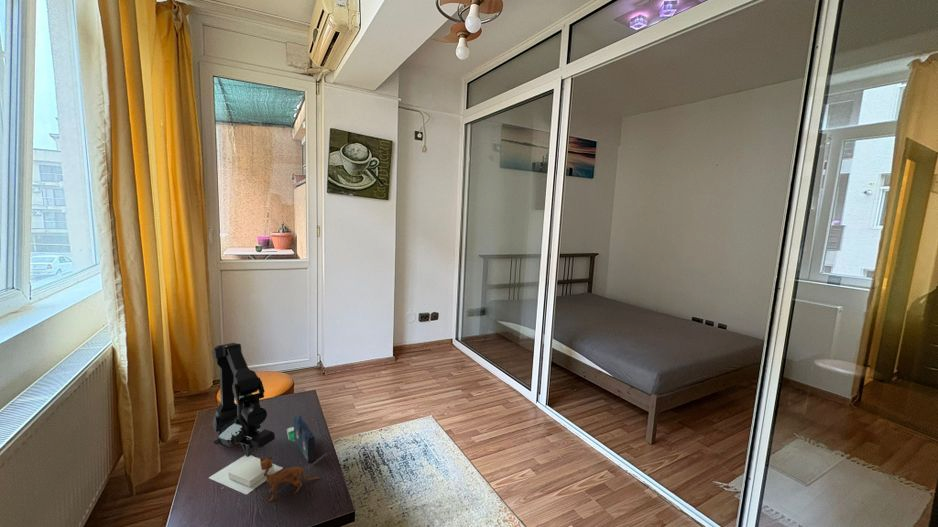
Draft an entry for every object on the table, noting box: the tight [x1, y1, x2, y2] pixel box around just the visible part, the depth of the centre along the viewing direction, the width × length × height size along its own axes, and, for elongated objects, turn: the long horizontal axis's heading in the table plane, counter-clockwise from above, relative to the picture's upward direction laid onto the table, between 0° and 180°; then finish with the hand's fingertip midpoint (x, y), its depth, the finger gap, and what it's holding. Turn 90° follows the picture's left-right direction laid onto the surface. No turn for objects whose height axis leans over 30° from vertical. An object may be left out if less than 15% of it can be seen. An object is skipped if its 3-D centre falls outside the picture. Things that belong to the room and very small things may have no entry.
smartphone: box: [286, 426, 296, 443], centre depth 148 cm, size 7×1×15 cm
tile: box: [228, 456, 274, 487], centre depth 124 cm, size 2×9×10 cm
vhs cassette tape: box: [293, 414, 316, 463], centre depth 139 cm, size 18×3×10 cm, turn 39°
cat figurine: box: [259, 454, 320, 502], centre depth 119 cm, size 18×7×14 cm, turn 128°
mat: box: [208, 454, 284, 496], centre depth 125 cm, size 18×14×1 cm
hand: (248, 456), depth 124 cm, fingers closed
